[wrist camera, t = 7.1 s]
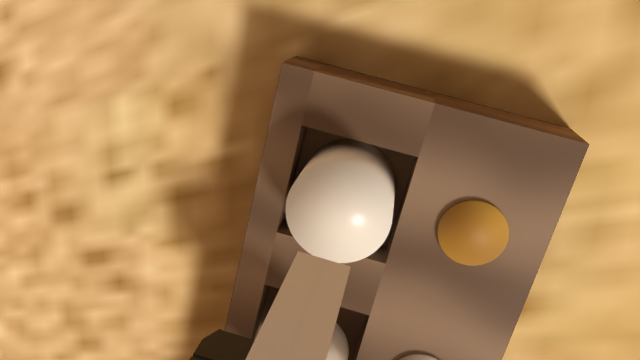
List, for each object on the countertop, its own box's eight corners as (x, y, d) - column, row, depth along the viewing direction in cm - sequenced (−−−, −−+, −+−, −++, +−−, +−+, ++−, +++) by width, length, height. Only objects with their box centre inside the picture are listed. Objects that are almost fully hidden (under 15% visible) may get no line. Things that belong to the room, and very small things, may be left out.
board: (296, 56, 27) (281, 63, 24) (570, 129, 26) (590, 145, 23) (203, 474, 36) (183, 517, 33) (409, 541, 35) (408, 592, 32)
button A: (315, 128, 27) (298, 149, 23) (407, 153, 27) (405, 178, 23) (294, 213, 28) (275, 246, 25) (381, 238, 28) (376, 275, 24)
